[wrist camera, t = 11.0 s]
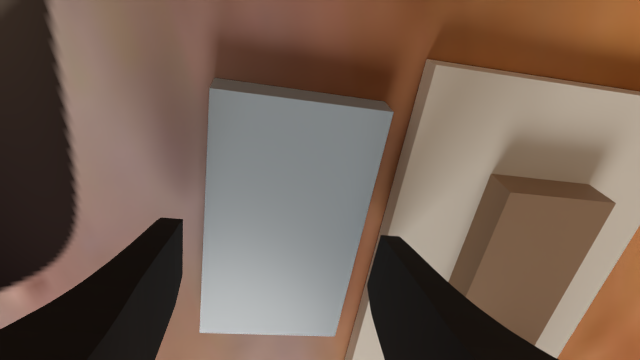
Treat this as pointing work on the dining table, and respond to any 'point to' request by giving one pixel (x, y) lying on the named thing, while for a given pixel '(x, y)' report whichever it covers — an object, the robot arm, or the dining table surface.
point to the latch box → (514, 195)
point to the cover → (285, 205)
